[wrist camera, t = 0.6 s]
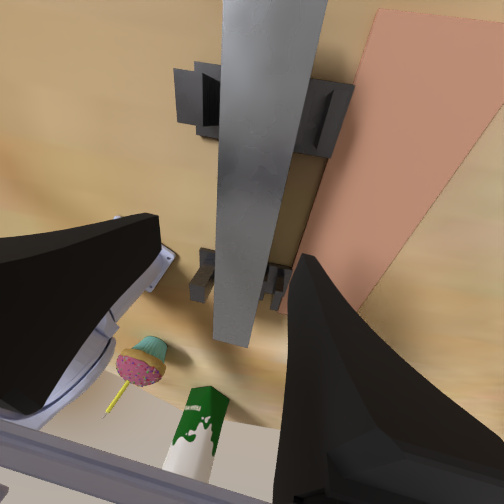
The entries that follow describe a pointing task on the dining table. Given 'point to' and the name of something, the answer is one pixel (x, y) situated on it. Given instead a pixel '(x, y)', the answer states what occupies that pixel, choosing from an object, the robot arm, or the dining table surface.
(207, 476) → the milk carton
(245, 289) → the rail
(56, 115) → the dining table surface
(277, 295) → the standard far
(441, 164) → the mat
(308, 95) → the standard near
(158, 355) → the cupcake
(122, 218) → the robot arm
